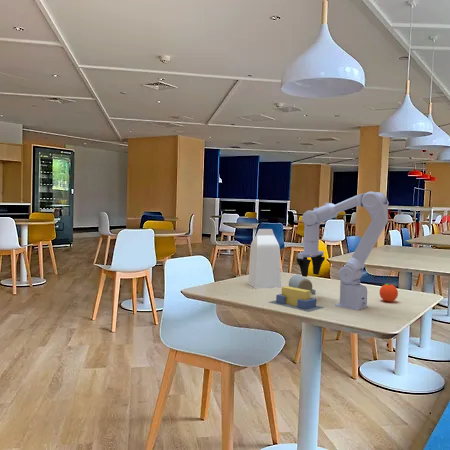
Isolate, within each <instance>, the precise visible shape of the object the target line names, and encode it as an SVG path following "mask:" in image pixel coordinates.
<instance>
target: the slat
mask: <svg viewBox="0 0 450 450" xmlns="http://www.w3.org/2000/svg"><path fill="white" fill-rule="evenodd" d="M281 294H282V296H286V299H285V304H289V305H294V306H297V300H298V299H300V300H305V301H306V300H310V298H311V295H312V293H311V291H310V290H304V289H299V288H294V287H289V285H287V286H281Z"/></svg>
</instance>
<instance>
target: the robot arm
mask: <svg viewBox="0 0 450 450" xmlns="http://www.w3.org/2000/svg"><path fill="white" fill-rule="evenodd" d="M386 196H387V195H385V193H383V192H381V191H376V192H375V191H367V192H365V193H359V194H357V195H354V196H352V197H349V198H346V199H345V200H343V201H341V202H338V203H336V204H334V203H332V202H325V203H324V205H322V206H319V207H314V208H313V210H306V211H305V212H303V214H302V217H301V220H302V223H304V228H303V229H304V230H303V233H304V235H303V251H301V252H298V253H297V257H296V262H297V263H298V266H299V268H300V273H301V276H302V277H304V278H307V277H308V275H309V267H310V264H311V263H312V273H313V275H319V274H320V271H321V267H322V265H323V262H324V261H325V256H324V252H325V251H323V250H319V249H320V248H319V246H320V245H319V243H320V241H319V239H320V224H321V223H323V222H326V221H329V220H331V219H335V218H337V216H338V214H339V213H340V212H344V211H346V210H349V209H353V208H354V207H363V208H364V209H365V210H366V211H367V212H368V214H369V216H370V219H371V221H370V223H369V224H368V226H367V228H366V230H365V232H364V234H363V236H362V238H361V239H360V241H359V243H358V245H357V246H356V248H355V250H354V252H353V254H352V256H351V257H350V258H349V259H348V260H347V261H346V262H345V265H344V266H342V267H340V268H339V270H338V271H337V272H338V273H337V277H338V279H339V280H340V283H339V303H336V304H334V306H335V307H340V308H345V309H350V310H353V311H360V310H363V309H367V308H369V306H368V288H367V286H366V285H363V284H362V283H361V280H360V279H362V277H363V274H364V273H363V272H364V268H365V266H366V264H365V263H366V261H367V259H368V258H369V256H370V253H371V252H372V250H373V249H374V247H375V245H376V243H377V242H378V240H379V238H380V237H381V234H382V233H383V231H384V229H385V228H386V226H387V224H388V222H389V204H390V203H389V201H388V198H387V197H386ZM308 258H310V259H308Z"/></svg>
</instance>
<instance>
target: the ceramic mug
mask: <svg viewBox="0 0 450 450" xmlns="http://www.w3.org/2000/svg"><path fill="white" fill-rule="evenodd" d="M288 286H289V287H294V288H299V289H304V290H310V291H311V294H314V295H315V293H316V290H315V289H313V283H312V281H311V280H310V279H308V278H307V277H304V276H302V275H299V274H294V275H292V276H291V277H290V279H289V280H288Z"/></svg>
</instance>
